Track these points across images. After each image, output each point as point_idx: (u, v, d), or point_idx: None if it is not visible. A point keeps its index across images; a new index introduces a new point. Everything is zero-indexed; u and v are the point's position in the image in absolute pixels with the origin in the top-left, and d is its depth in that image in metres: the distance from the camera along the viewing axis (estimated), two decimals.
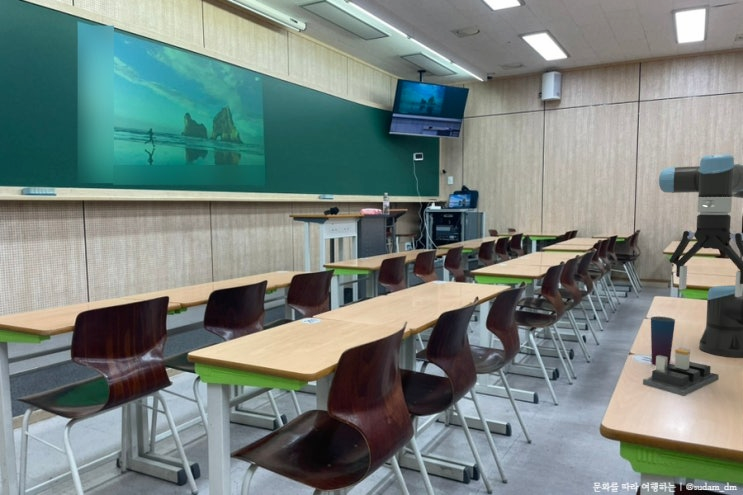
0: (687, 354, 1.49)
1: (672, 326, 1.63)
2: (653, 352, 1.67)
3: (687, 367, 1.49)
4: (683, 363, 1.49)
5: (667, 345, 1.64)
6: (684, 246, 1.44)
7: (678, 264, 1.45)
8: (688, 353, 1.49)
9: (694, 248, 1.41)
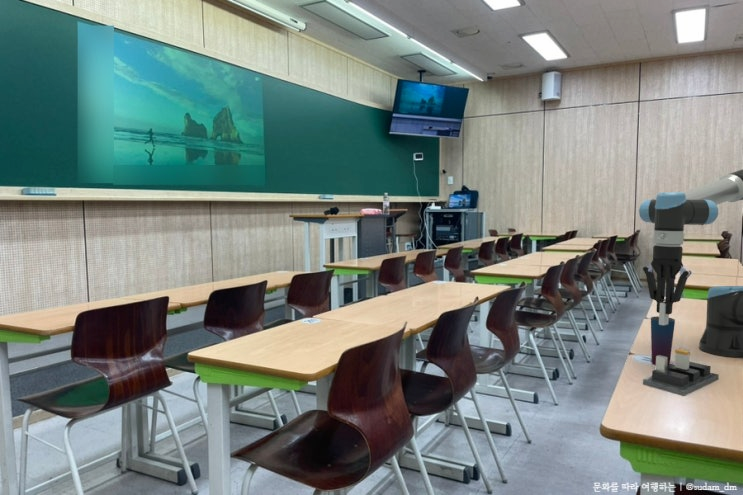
0: (687, 354, 1.49)
1: (672, 326, 1.63)
2: (653, 352, 1.67)
3: (687, 367, 1.49)
4: (683, 363, 1.49)
5: (667, 345, 1.64)
6: (652, 280, 1.56)
7: (658, 300, 1.54)
8: (688, 353, 1.49)
9: (659, 280, 1.53)
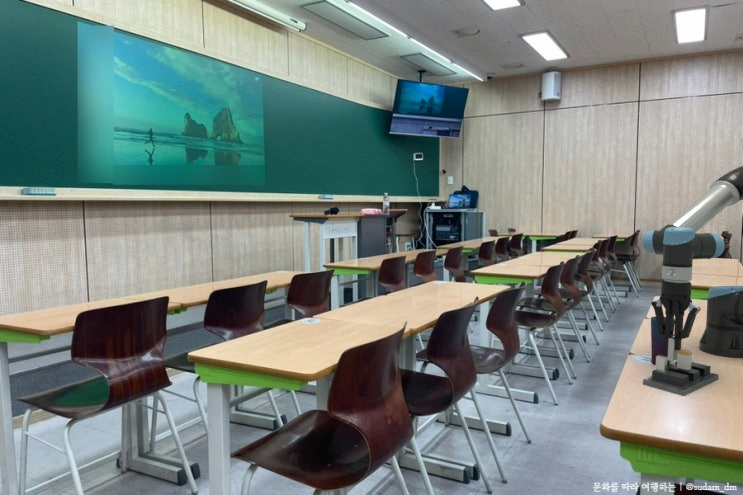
0: (689, 354, 1.48)
1: None
2: (653, 352, 1.67)
3: (689, 367, 1.49)
4: (685, 364, 1.49)
5: None
6: (661, 314, 1.54)
7: (667, 336, 1.52)
8: (690, 353, 1.49)
9: (668, 315, 1.52)
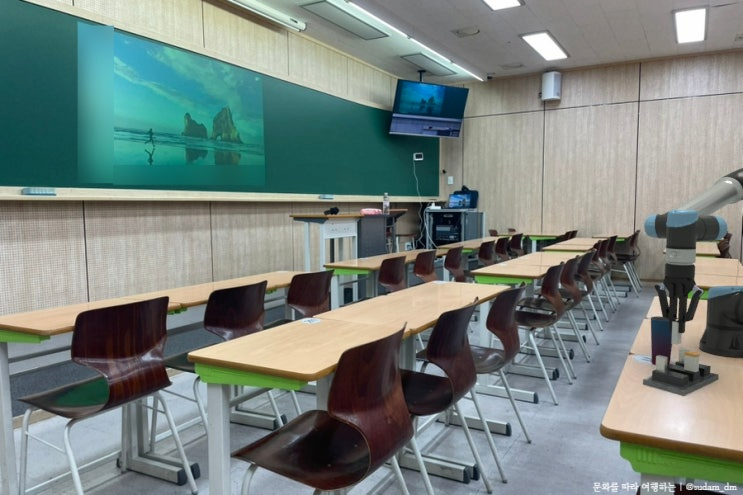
0: (697, 356, 1.47)
1: None
2: (653, 352, 1.67)
3: (697, 369, 1.47)
4: (693, 365, 1.47)
5: (667, 345, 1.64)
6: (664, 298, 1.53)
7: (671, 319, 1.51)
8: (698, 355, 1.47)
9: (671, 298, 1.51)
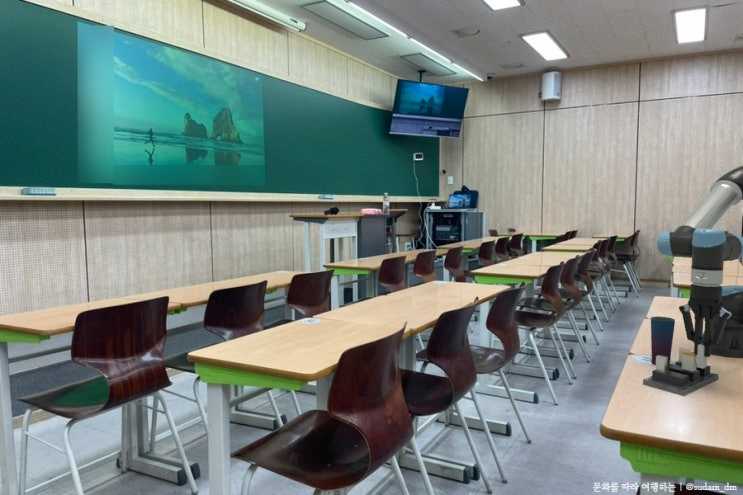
0: (694, 355, 1.47)
1: (672, 326, 1.63)
2: (653, 352, 1.67)
3: (694, 369, 1.48)
4: (690, 365, 1.48)
5: (667, 345, 1.64)
6: (689, 320, 1.48)
7: (696, 342, 1.46)
8: (695, 355, 1.48)
9: (697, 320, 1.45)
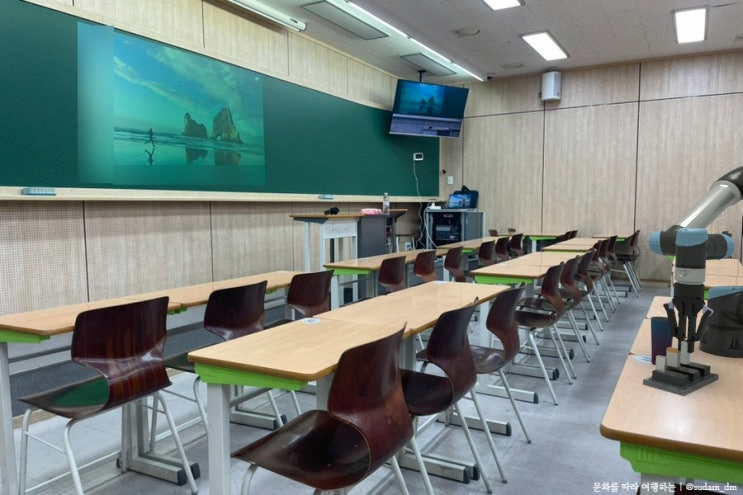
0: (678, 351, 1.51)
1: None
2: (653, 352, 1.67)
3: (678, 365, 1.51)
4: (674, 361, 1.51)
5: (667, 345, 1.64)
6: (673, 317, 1.52)
7: (680, 338, 1.49)
8: (679, 351, 1.51)
9: (681, 317, 1.49)
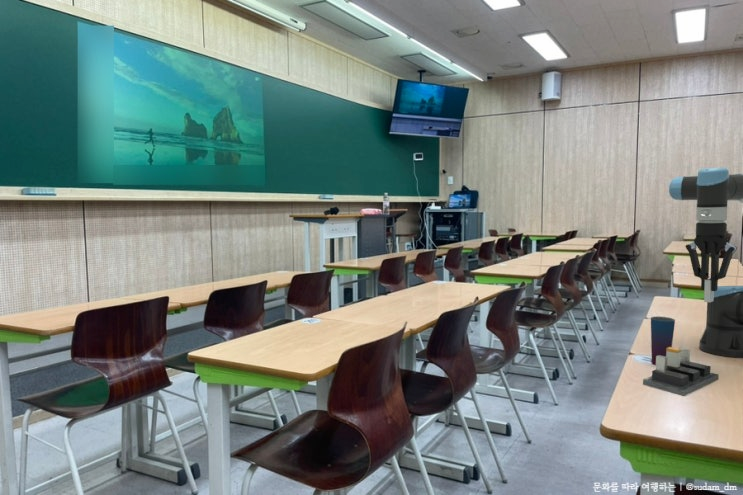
0: (678, 351, 1.51)
1: (672, 326, 1.63)
2: (653, 352, 1.67)
3: (678, 365, 1.51)
4: (674, 361, 1.51)
5: (667, 345, 1.64)
6: (696, 257, 1.55)
7: (703, 277, 1.53)
8: (679, 351, 1.51)
9: (703, 257, 1.52)
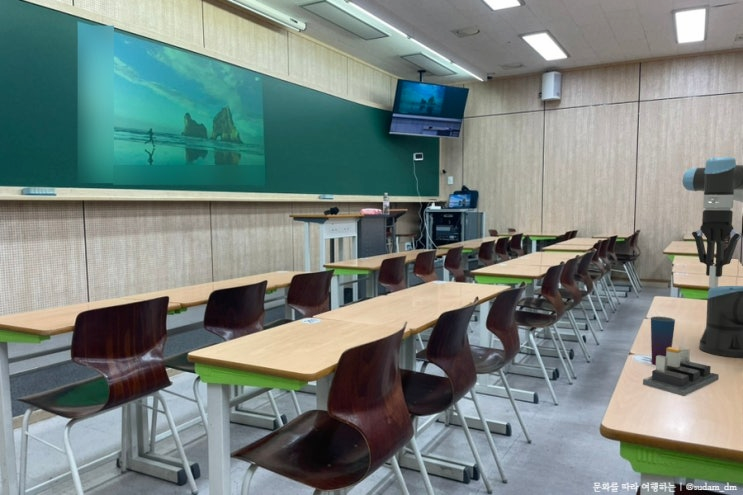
0: (678, 351, 1.51)
1: (672, 326, 1.63)
2: (653, 352, 1.67)
3: (678, 365, 1.51)
4: (674, 361, 1.51)
5: (667, 345, 1.64)
6: (702, 244, 1.60)
7: (708, 263, 1.58)
8: (679, 351, 1.51)
9: (709, 243, 1.57)
